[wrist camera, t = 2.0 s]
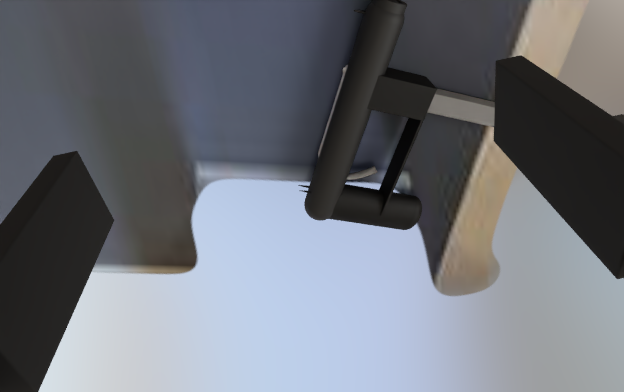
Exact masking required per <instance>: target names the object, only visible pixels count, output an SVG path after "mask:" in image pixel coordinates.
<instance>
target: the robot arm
mask: <svg viewBox="0 0 624 392" xmlns="http://www.w3.org/2000/svg"><path fill="white" fill-rule="evenodd" d="M494 142H495V143H496V144H497V145H498V146H499V147H500V148H501V150H502V151H503V152H504V153H505V154H506V155H507V156H508V157H509V159H510V160H511V161H512V162H513V163H514V164H515V165H516V166H517V168H518V169H519V170H520V171H521V172H522V173H523V174H524V175H525V176H526V178H528V180H529V181H530V182H531V183H532V184H533V185H534V187H535V188H536V189H537V190H538V191H539V192H540V193H541V194H542V195H543V197H544V198H545V199H546V200H547V201H548V202H549V203H550V204H551V206H552V207H553V208H554V209H555V210H556V211H557V212H558V213H559V215H560V216H561V217H562V218H563V219H564V220H565V221H566V222H567V223H568V225H569V226H570V227H571V228H572V229H573V230H574V231H575V232H576V233H577V235H578V236H579V237H580V238H581V239H582V240H583V241H584V242H585V244H586V245H587V246H588V247H589V248H590V249H591V250H592V251H593V253H594V254H595V255H596V256H597V257H598V258H599V259H600V260H601V261H602V263H603V264H604V265H605V266H606V267H607V268H608V269H609V270H610V271H611V273H612V274H613V275H614V276H615V277H616V278H617V279H620V278H624V115H622V114H621V115H617V116H611V115H610V114H608V113H607V112H605V111H604V110H602V109H601V108H599V107H598V106H596V105H595V104H593V103H592V102H590V101H589V100H587V99H586V98H584V97H583V96H581V95H580V94H578V93H577V92H575V91H574V90H572V89H570V88H569V87H568V86H566V85H565V84H563V83H562V82H560V81H559V80H557V79H556V78H554V77H553V76H551V75H550V74H548V73H547V72H545V71H544V70H542V69H541V68H539V67H538V66H536V65H535V64H533V63H532V62H530V61H529V60H527V59H526V58H524V57H523V56H516V57H511V58H507V59H502V60H497V61H496V77H495V114H494ZM113 222H114V219H113V217H112V215H111V213H110V212H109V210H108V208H107V206H106V204H105V202H104V200H103V198H102V197H101V195H100V193H99V191H98V189H97V187H96V185H95V183H94V182H93V180H92V178H91V176H90V174H89V172H88V170H87V169H86V167H85V165H84V163H83V161H82V159H81V157H80V155H79V154H78V152H77V151H74V152H70V153H65V154H60V155H56V156H53V157H52V158H51V160H50V161H49V162H48V164H47V165H46V166H45V168H44V169H43V170H42V171H41V173H40V174H39V175H38V177H37V178H36V179H35V180H34V182H33V183H32V184H31V186H30V187H29V188H28V190H27V191H26V192H25V193H24V195H23V196H22V197H21V199H20V200H19V201H18V202H17V204H16V205H15V206H14V208H13V209H12V210H11V212H10V213H9V214H8V215H7V217H6V218H5V219H4V221H3V222H2V223H1V224H0V392H38V391H39V388H40V386H41V384H42V382H43V379H44V377H45V375H46V373H47V371H48V368H49V366H50V363H51V361H52V359H53V357H54V355H55V352H56V350H57V348H58V346H59V343H60V341H61V339H62V337H63V334H64V332H65V330H66V328H67V325H68V323H69V321H70V319H71V316H72V314H73V312H74V310H75V307H76V305H77V303H78V301H79V298H80V296H81V294H82V292H83V289H84V287H85V285H86V283H87V280H88V278H89V276H90V274H91V271H92V269H93V267H94V265H95V262H96V260H97V258H98V256H99V253H100V251H101V249H102V247H103V244H104V242H105V240H106V238H107V235H108V233H109V231H110V229H111V226H112V224H113Z"/></svg>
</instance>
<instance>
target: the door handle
mask: <svg viewBox="0 0 624 392" xmlns="http://www.w3.org/2000/svg"><path fill="white" fill-rule="evenodd" d="M406 7H407V4H406V3H405V2H403V1H401V0H372V2H371V3H370V4H369V5H368V7H367V8H366V10H365V11H364V12H362V11H363V10H361V11H358V10H359V9H358V10H354V11H355V12H359V13H363V14H364V16H363V19H362V23H361V26H360V29H359V32H358V35H357V38H356V41H355V45H354V48H353V51H352V54H351V57H350V60H349V63H348V65H346V66H345V67H344V68H343V76H342V79H341V82H340V85H339V88H338V91H337V95H336V98H335V101H334V104H333V107H332V110H331V114H330V117H329V120H328V123H327V126H326V129H325V133H324V136H323V139H322V142H321V145H320V149H319V152H318V156H319V158H318V161H317V164H316V167H315V170H314V174H313V177H312V180H311V183H310V186H303V185H301V186H303V187H307V188H309V189H308V191H304V192H307V196H306V199H305V210H306V212H307V214H308V215H309V216H310V217H311V218H313V219H315V220H326V219H334V220H341V221H348V222H354V223H361V224H368V225H374V226H381V227H388V228H395V229H402V230H407V229H410V228H412V227H413V226H414V225H415V224H416V223H417V222H418V220H419V218H420V216H421V212H422V205H421V201H420V200H419V199H418V198H417V197H416V196H411V195H406V194H400V193H394V192H393V190H394V188H395V186H396V183H397V181H398V179H399V176H400V174H401V172H402V169H403V167H404V165H405V162H406V160H407V158H408V155H409V153H410V151H411V148H412V146H413V144H414V141H415V139H416V137H417V134H418V132H419V130H420V127H421V125H422V123H423V121H424V119H425V116H426V114H427V112H429V113H433V114H438V115H442V116H447V117H451V118H456V119H460V120H465V121H469V122H474V123H478V124H483V125H487V126H492V127H494V114H495V102H492V101H488V100H484V99H480V98H476V97H471V96H467V95H463V94H459V93H454V92H450V91H446V90H442V89H437V88H436V87H435V86H434V85H433V84H432V83H431V82H430V81H429V80H428V79H427V78H426V77H425V76H421V75H417V74H413V73H408V72H404V71H400V70H396V69H392V68H388V65H389V62H390V59H391V56H392V54H393V51H394V48H395V45H396V42H397V40H398V37H399V34H400V31H401V29H402V26H403V23H404V12H405V9H406ZM372 110H376V111H380V112H385V113H390V114H394V115H399V116H403V117H408V118H409V119H408V121H407V123H406V126H405V128H404V131H403V133H402V136H401V138H400V140H399V143H398V145H397V148H396V150H395V153H394V155H393V158H392V160H391V162H390V165H389V167H388V170H387V172H386V175H385V177H384V179H383V182H382V184H381V187H380V189H379V190H376V189H370V188H364V187H358V186H352V185H346V184H345V183H346V180H354V179H360V178H364V177H367V176H370V175H372V174H375V173H377V171H376V168H375V166H372V167H370V168H368V169H365V170H362V171H359V172H355V173H349V172H350V169H351V166H352V164H353V161H354V158H355V155H356V153H357V150H358V147H359V144H360V142H361V139H362V136H363V133H364V131H365V128H366V125H367V122H368V120H369V117H370V114H371V111H372Z"/></svg>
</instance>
